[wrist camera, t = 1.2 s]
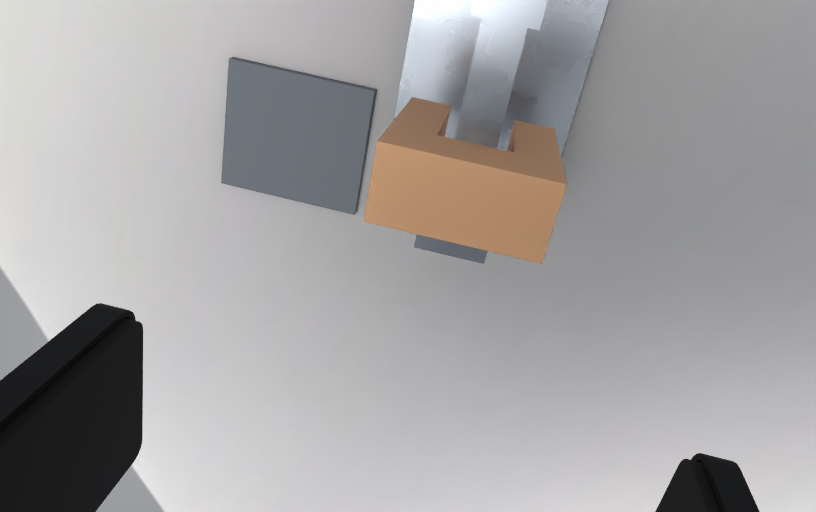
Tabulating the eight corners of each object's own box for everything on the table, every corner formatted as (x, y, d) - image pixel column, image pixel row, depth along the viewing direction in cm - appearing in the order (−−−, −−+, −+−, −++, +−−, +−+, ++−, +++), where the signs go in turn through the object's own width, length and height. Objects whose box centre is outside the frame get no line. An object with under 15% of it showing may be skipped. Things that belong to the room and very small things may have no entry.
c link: (554, 128, 28) (567, 184, 21) (536, 191, 30) (542, 263, 22) (412, 96, 29) (377, 141, 22) (400, 160, 30) (363, 221, 23)
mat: (376, 89, 38) (374, 91, 38) (356, 211, 42) (354, 214, 41) (233, 57, 39) (229, 58, 38) (225, 180, 42) (221, 183, 42)
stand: (616, -34, 34) (685, -33, 20) (551, 179, 39) (570, 298, 25) (430, -72, 34) (371, -98, 20) (392, 143, 39) (323, 239, 26)
